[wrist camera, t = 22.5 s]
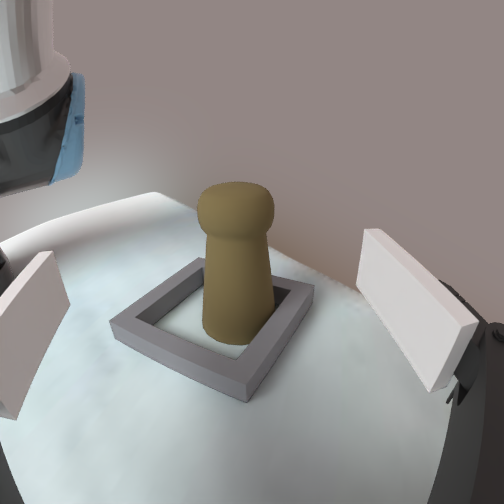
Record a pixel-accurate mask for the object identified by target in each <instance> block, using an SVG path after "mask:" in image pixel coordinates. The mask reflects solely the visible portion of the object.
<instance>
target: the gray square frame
mask: <svg viewBox="0 0 504 504" xmlns="http://www.w3.org/2000/svg"><path fill="white" fill-rule="evenodd" d="M204 274H205V259H203V258H199V257H198V258H197V259H196V260H194V261H193V262H191V263H190V264H188V265H187V266H186V267H184V268H183V269H181V270H180V271H178V272H177V273H176V274H174V275H173V276H171V277H170V278H168V279H167V280H166V281H164V282H163V283H161V284H160V285H158V286H157V287H156V288H154V289H153V290H151V291H150V292H149V293H147V294H146V295H144V296H143V297H142V298H140V299H139V300H137V301H136V302H135V303H133V304H132V305H130V306H129V307H128V308H126V309H125V310H123V311H122V312H121V313H119V314H118V315H117V316H115V317H114V318H112V319H111V320H110V321H109V322H110V325H111V328H112V331H113V334H114V337H115V339H117V340H118V341H120V342H122V343H124V344H125V345H127V346H129V347H131V348H133V349H134V350H136V351H138V352H140V353H142V354H143V355H145V356H147V357H149V358H151V359H153V360H155V361H157V362H159V363H161V364H162V365H164V366H166V367H168V368H170V369H172V370H174V371H176V372H178V373H181V374H183V375H185V376H187V377H189V378H191V379H193V380H195V381H197V382H200V383H202V384H204V385H206V386H208V387H211V388H213V389H215V390H217V391H220V392H222V393H224V394H227V395H229V396H231V397H234V398H236V399H239V400H241V401H244V402H246V403H247V402H248V400H249V399H250V397H251V396H252V395H253V393H254V392H255V390H256V389H257V387H258V386H259V385H260V383H261V382H262V380H263V379H264V377H265V376H266V374H267V373H268V371H269V370H270V368H271V367H272V365H273V364H274V362H275V361H276V359H277V358H278V356H279V355H280V353H281V352H282V350H283V349H284V347H285V346H286V344H287V343H288V341H289V340H290V338H291V336H292V335H293V333H294V332H295V330H296V329H297V327H298V325H299V324H300V322H301V321H302V319H303V317H304V316H305V314H306V313H307V311H308V309H309V308H310V306H311V305H312V303H313V294H314V285H311V284H307V283H302V282H298V281H294V280H290V279H285V278H281V277H277V276H273V275H271V276H272V284H273V293H274V301H275V304H279V305H280V306H279V307H278V308H277V310H276V311H275V312H274V313H273V315H272V316H271V317H270V319H269V320H268V321H267V322H266V324H265V325H264V326H263V327H262V329H261V330H260V331H259V333H258V334H257V335H256V336H255V338H254V339H253V340H252V341H251V343H250V344H249V345H248V346H247V348H246V349H245V350H244V351H243V353H242V354H241V355H240V356H239V358H238V359H237V360H234V359H231V358H229V357H226V356H223V355H221V354H218V353H216V352H213V351H211V350H208V349H206V348H203V347H201V346H198V345H196V344H193V343H191V342H189V341H186V340H184V339H182V338H179V337H177V336H175V335H172V334H170V333H168V332H166V331H163V330H161V329H159V328H157V327H154V326H152V325H153V324H154V323H155V322H157V321H158V320H159V319H160V318H161V317H163V316H164V315H165V314H166V313H168V312H169V311H170V310H171V309H173V308H174V307H175V306H176V305H178V304H179V303H180V302H181V301H182V300H184V299H185V298H186V297H187V296H189V295H190V294H191V293H192V292H194V291H195V290H196V289H197V288H199V287H200V286H201V285H202V284H203V283H204Z"/></svg>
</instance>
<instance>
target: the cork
mask: <svg viewBox="0 0 504 504" xmlns="http://www.w3.org/2000/svg"><path fill="white" fill-rule="evenodd" d="M197 213H198V220H199V223H200V226H201V228H202V230H203V231H204V232H205V233H206V234H207V241H206V257H205V274H204V293H203V314H202V323H203V329H204V330H205V331H206V333H207V334H208V335H209V336H210V337H212V338H213V339H215V340H216V341H219V342H222V343H226V344H232V345H245V344H250V343H251V341H252V340H253V339H254V338H255V336H256V335H257V334H258V333H259V331H260V330H261V329H262V327H263V326H264V325H265V324H266V322H267V321H268V320H269V319H270V317H271V316H272V315H273V313H274V312H275V311H276V309H275V301H274V293H273V284H272V276H271V268H270V260H269V252H268V244H267V236H266V232H267V231H268V230H269V228H270V227H271V225H272V222H273V219H274V202H273V198H272V196H271V194H270V193H269V191H268V190H267V189H266V188H264V187H262V186H260V185H258V184H253V183H247V182H228V183H221V184H217V185H213V186H211V187H209V188H207V189H206V190H205V191H204V192H203V193H202V195H201V196H200V198H199V200H198V206H197Z"/></svg>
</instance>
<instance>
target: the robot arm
mask: <svg viewBox="0 0 504 504" xmlns="http://www.w3.org/2000/svg"><path fill="white" fill-rule="evenodd" d="M84 109H85V79H84V76H83V75H82V74H78V73H71V74H70V64H69V61H68V59H67V58H66V57H65V56H63V55H62V54H60V53H58V52H55V51H54V43H53V0H0V198H2V197H5V196H8V195H12V194H16V193H20V192H23V191H27V190H31V189H35V188H39V187H42V186H47V185H52V184H53V183H54V182H57V181H60V180H64V179H67V178H70V177H72V176H74V175H76V174H77V173H78V172H79V170H80V168H81V166H82V162H83V149H84V120H83V119H84ZM12 281H13V272H12V269H11V267H10V264H9V261H8V259H7V257H6V255H5V254H4V252H3V251H2V249H1V248H0V417H4V418H8V419H12V420H17V417H18V415H19V412H20V410H21V407H22V405H23V402H24V400H25V397H26V395H27V393H28V390H29V388H30V385H31V383H32V381H33V379H34V376H35V374H36V372H37V370H38V368H39V365H40V363H41V361H42V359H43V357H44V355H45V353H46V351H47V349H48V347H49V345H50V343H51V341H52V339H53V337H54V335H55V333H56V331H57V329H58V327H59V325H60V323H61V321H62V319H63V318H64V316H65V314H66V312H67V310H68V308H69V307H70V302H69V299H68V296H67V293H66V290H65V287H64V284H63V281H62V278H61V275H60V272H59V269H58V265H57V262H56V258H55V255H54V251H43V252H39V253H38V254H37V255H36V256H35V257H34V258H33V259H32V261H31V262H30V263H29V264H28V265H27V266H26V267H25V268H24V269H23V271H22V272H21V273H20V274H19V275H18V276H17V277H16V279H15V280H14V281H13V282H12ZM356 286H357V287H358V289H359V290H360V291H361V293H362V294H363V296H364V297H365V298H366V300H367V301H368V303H369V304H370V306H371V307H372V308H373V310H374V311H375V313H376V314H377V315H378V317H379V318H380V320H381V321H382V323H383V324H384V325H385V327H386V328H387V330H388V331H389V333H390V334H391V336H392V337H393V339H394V340H395V342H396V343H397V345H398V346H399V348H400V349H401V351H402V352H403V354H404V355H405V357H406V358H407V360H408V361H409V363H410V364H411V366H412V367H413V369H414V370H415V372H416V373H417V375H418V376H419V378H420V380H421V381H422V383H423V384H424V386H425V387H426V389H427V391H428V392H429V393H431V392H434V391H436V390H439V389H442V388H444V387H447V385H448V383H449V381H450V380H451V378H452V376H453V374H454V375H455V376H456V378H457V379H458V382H457V384H456V386H455V387H454V389H453V391H452V392H451V394H450V396H449V397H448V399H447V401H446V403H447V404H449V402H450V401H451V399H452V398H453V402H452V408H451V414H450V420H449V425H448V430H447V435H446V439H445V444H444V448H443V452H442V456H441V460H440V464H439V468H438V471H437V475H436V478H435V481H434V485H433V488H432V491H431V494H430V497H429V500H428V503H427V504H504V324H502V323H496V322H494V323H490V324H488V323H487V322H486V321H485V320H484V319H483V318H482V317H481V316H480V315H479V314H478V313H477V312H476V311H475V310H474V309H473V308H472V307H471V306H470V305H469V304H468V303H467V302H465V300H464V299H463V298H462V297H461V296H459V294H458V293H457V292H456V291H455V290H454V289H453V288H452V287H451V286H449V285H447V284H446V283H444V282H442V281H441V280H437V279H436V278H435V277H434V276H433V275H432V274H431V273H430V272H429V271H428V270H427V269H425V268H424V267H423V266H422V265H421V264H420V263H419V262H418V261H417V260H416V259H414V258H413V257H412V256H411V255H410V254H409V253H408V252H407V251H405V250H404V249H403V248H402V247H401V246H400V245H398V244H397V243H396V242H395V241H394V240H393V239H392V238H390V237H389V236H388V235H387V234H386V233H385V232H383V231H382V230H381V229H380V228H379V229H364V235H363V243H362V250H361V257H360V263H359V269H358V276H357V281H356ZM0 504H24V502H23V499H22V497H21V495H20V493H19V491H18V488H17V486H16V484H15V481H14V479H13V476H12V474H11V471H10V468H9V466H8V463H7V460H6V458H5V455H4V452H3V449H2V446H1V443H0Z"/></svg>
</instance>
